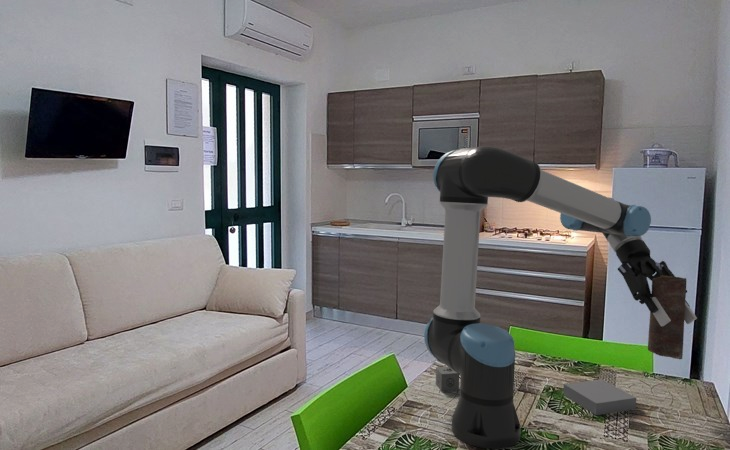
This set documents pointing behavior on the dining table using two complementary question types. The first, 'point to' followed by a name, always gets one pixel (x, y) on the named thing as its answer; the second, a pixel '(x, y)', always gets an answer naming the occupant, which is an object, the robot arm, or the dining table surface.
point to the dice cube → (447, 379)
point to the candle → (673, 303)
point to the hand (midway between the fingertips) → (679, 322)
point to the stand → (599, 397)
